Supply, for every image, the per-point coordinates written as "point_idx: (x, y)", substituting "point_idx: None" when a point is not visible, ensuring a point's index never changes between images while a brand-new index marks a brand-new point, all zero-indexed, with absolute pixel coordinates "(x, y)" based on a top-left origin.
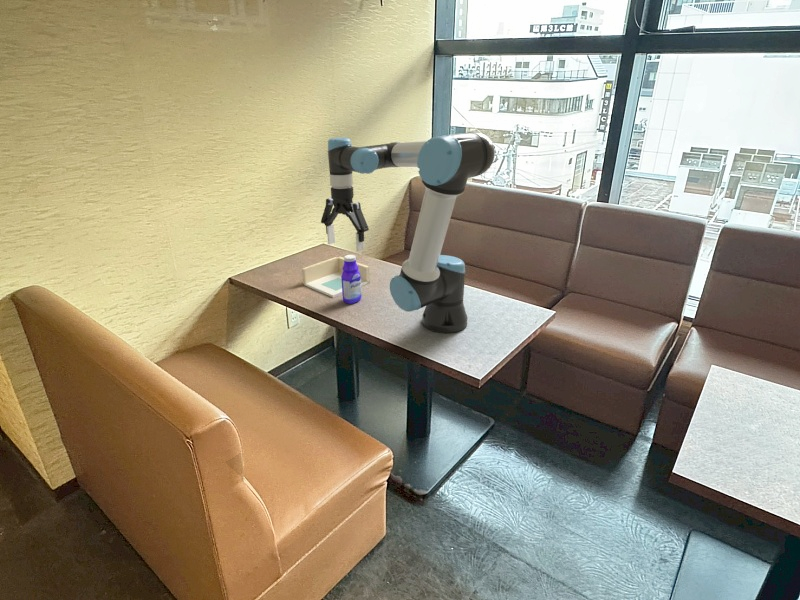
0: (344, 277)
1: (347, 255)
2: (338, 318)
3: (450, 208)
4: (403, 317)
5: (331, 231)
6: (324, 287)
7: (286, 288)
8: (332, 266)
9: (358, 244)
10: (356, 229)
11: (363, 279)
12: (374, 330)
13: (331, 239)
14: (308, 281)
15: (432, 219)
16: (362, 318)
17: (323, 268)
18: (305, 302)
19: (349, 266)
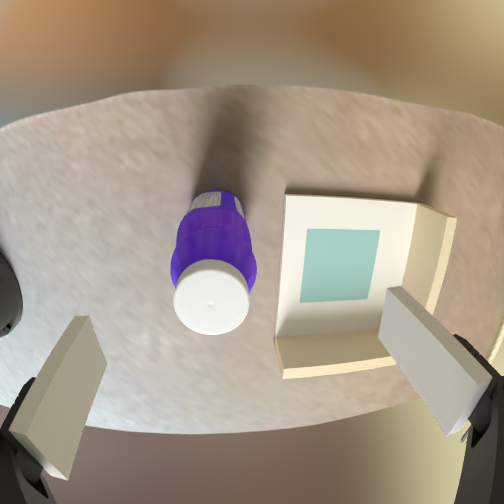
0: (210, 212)
1: (236, 306)
2: (151, 100)
3: None
4: (38, 245)
5: (433, 376)
6: (355, 221)
7: (440, 155)
8: None
9: (54, 356)
10: (7, 466)
11: (290, 338)
12: (33, 137)
13: (399, 327)
14: (417, 216)
15: None
16: (97, 156)
17: (418, 287)
18: (330, 109)
19: (187, 254)
